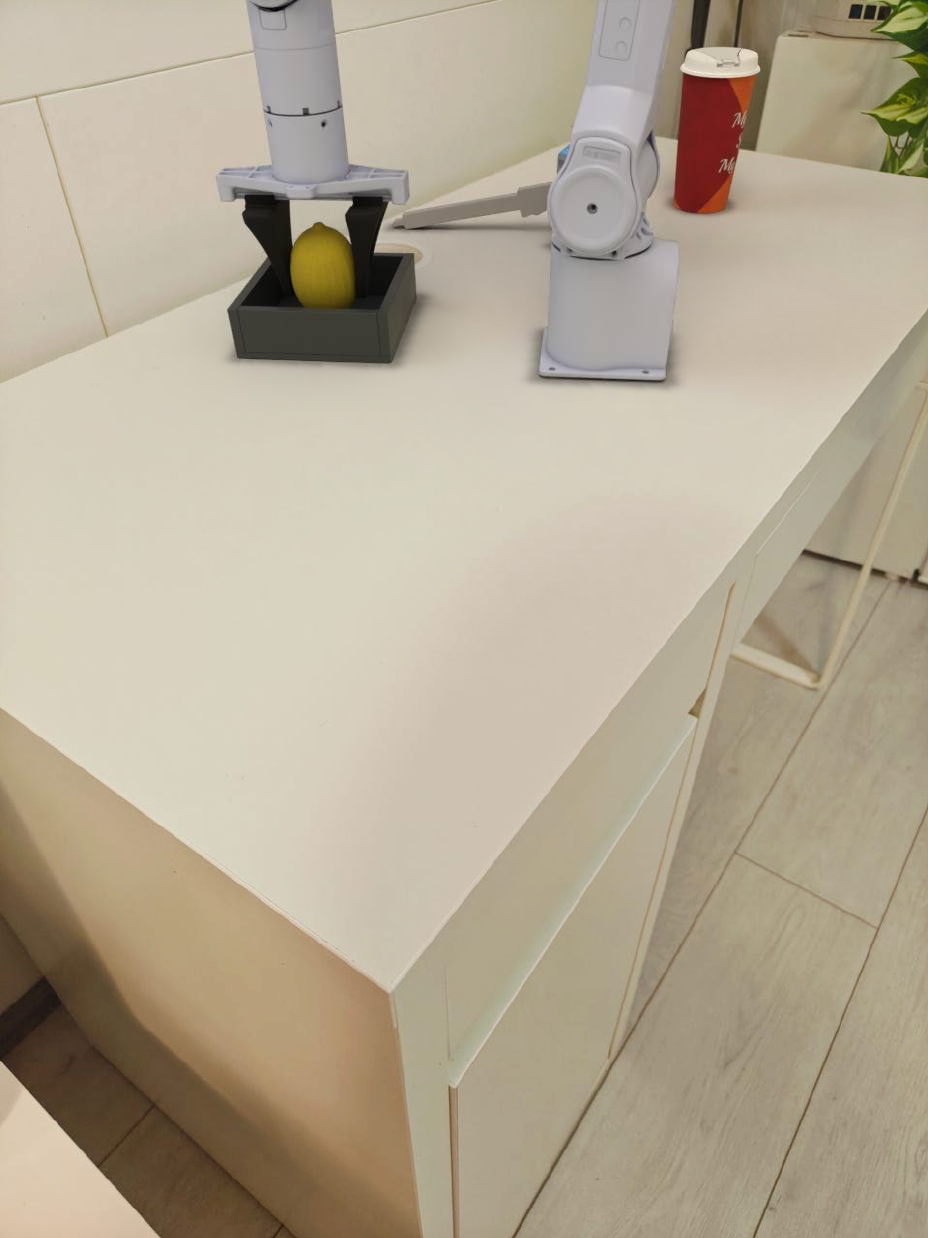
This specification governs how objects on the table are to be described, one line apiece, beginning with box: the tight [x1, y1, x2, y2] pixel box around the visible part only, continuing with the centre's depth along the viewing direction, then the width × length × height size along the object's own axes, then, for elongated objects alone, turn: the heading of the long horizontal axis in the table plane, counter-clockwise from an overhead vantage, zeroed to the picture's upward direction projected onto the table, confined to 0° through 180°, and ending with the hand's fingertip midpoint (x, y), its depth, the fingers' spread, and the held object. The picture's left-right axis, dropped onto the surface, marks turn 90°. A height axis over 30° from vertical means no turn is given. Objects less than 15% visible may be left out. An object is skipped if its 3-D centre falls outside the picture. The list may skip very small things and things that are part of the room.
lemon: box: [290, 221, 357, 309], centre depth 71 cm, size 6×6×8 cm
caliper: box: [391, 180, 553, 230], centre depth 89 cm, size 20×1×6 cm, turn 81°
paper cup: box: [673, 46, 761, 214], centre depth 90 cm, size 8×8×14 cm
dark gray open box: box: [226, 251, 418, 364], centre depth 73 cm, size 13×13×4 cm
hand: (327, 292), depth 72 cm, fingers closed on lemon, 5 cm apart
